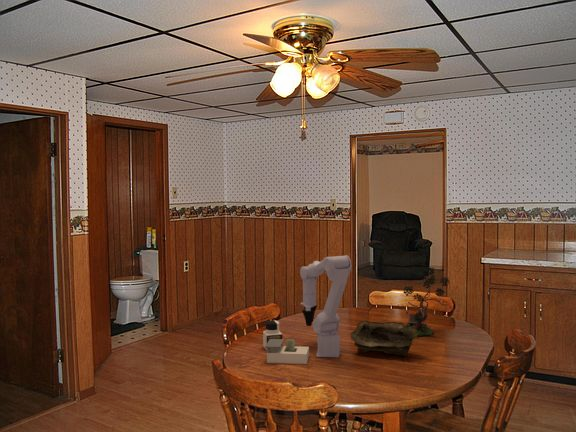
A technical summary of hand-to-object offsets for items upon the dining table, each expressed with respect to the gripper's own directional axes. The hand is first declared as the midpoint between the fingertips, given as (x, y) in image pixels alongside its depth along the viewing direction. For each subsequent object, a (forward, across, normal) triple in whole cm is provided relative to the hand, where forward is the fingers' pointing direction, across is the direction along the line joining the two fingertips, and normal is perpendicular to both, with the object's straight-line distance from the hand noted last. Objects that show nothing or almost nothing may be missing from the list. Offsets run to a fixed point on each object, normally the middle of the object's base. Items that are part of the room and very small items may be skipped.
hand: (309, 323), depth 226 cm
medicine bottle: (+10, +5, -16) cm, 20 cm away
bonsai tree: (+10, -30, +53) cm, 62 cm away
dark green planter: (+10, +9, +32) cm, 35 cm away
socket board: (+10, +20, -7) cm, 23 cm away
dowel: (+10, +20, -6) cm, 23 cm away
